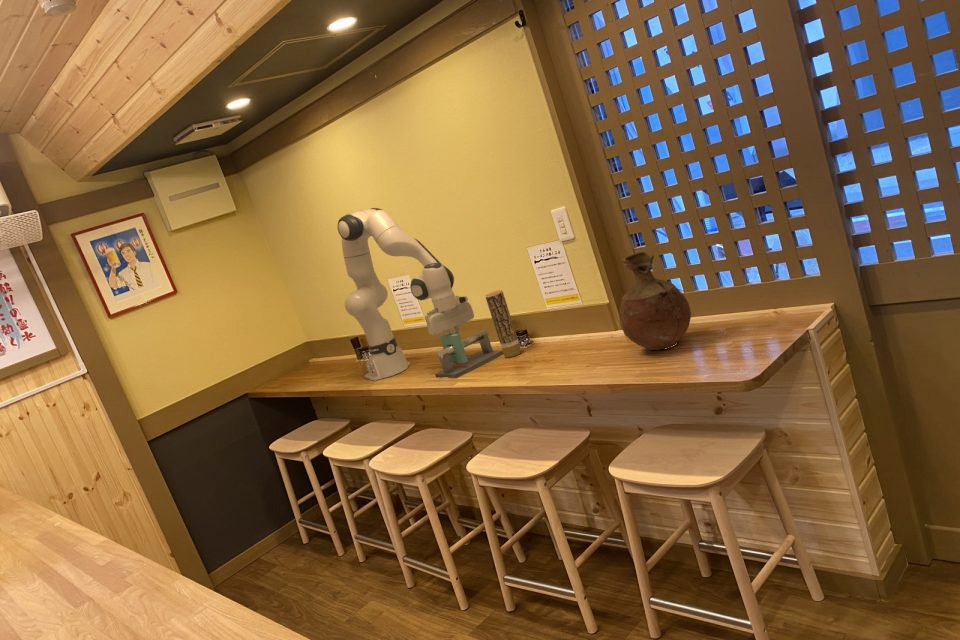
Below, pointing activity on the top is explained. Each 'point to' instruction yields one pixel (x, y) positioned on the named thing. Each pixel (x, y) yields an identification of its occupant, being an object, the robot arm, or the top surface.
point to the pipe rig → (479, 336)
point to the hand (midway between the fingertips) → (456, 338)
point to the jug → (652, 307)
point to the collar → (458, 347)
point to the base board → (470, 364)
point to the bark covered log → (503, 323)
